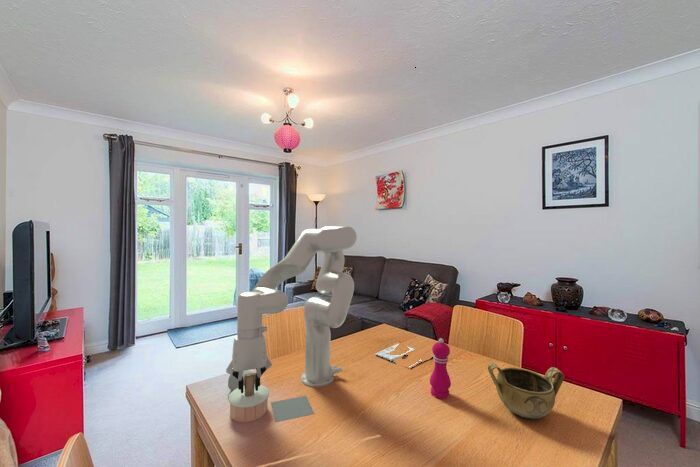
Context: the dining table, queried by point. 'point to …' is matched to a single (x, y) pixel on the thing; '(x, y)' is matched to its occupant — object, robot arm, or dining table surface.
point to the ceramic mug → (236, 380)
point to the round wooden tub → (248, 412)
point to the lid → (249, 394)
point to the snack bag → (393, 357)
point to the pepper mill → (440, 370)
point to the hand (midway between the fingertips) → (249, 389)
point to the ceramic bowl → (527, 390)
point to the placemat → (291, 408)
